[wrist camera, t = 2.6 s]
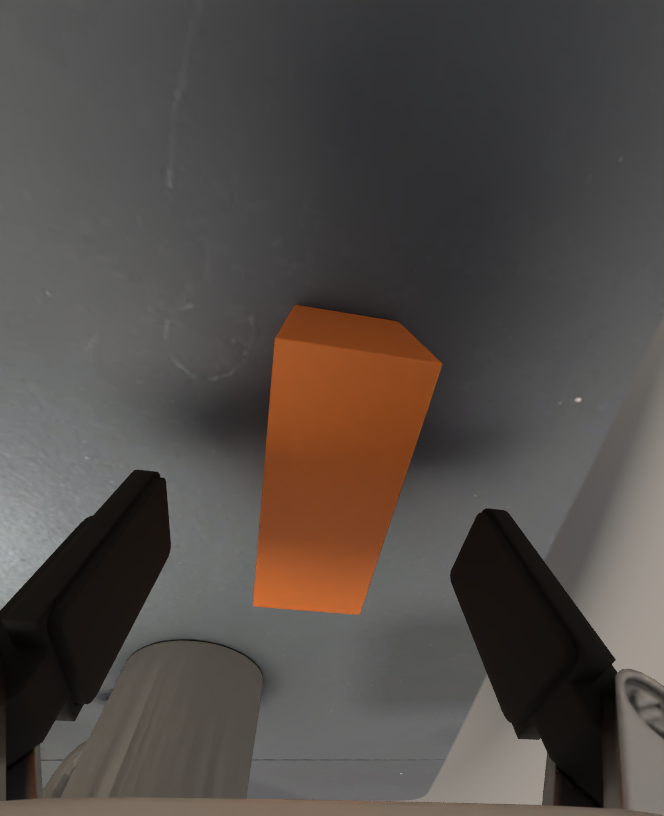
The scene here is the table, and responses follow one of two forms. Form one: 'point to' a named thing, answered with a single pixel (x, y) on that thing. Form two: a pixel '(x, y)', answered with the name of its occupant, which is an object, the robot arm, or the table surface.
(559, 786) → the robot arm
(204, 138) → the table surface
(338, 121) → the table surface
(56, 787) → the coffee mug
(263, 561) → the block
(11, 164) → the table surface
